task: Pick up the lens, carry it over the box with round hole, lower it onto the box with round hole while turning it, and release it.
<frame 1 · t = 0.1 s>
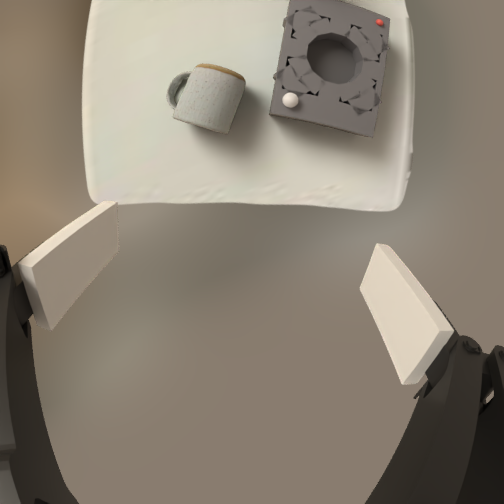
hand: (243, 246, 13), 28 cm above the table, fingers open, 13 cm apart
ceramic mug: (206, 99, 35), on the table
box with round hole: (325, 66, 31), on the table
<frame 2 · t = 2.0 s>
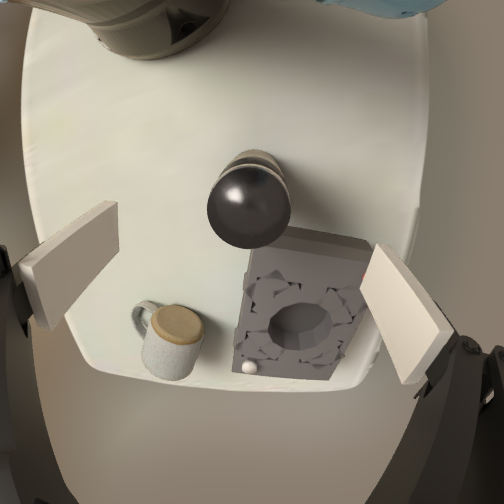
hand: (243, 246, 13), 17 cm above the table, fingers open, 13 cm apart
lens: (254, 174, 28), on the table
ceramic mug: (170, 321, 38), on the table
box with round hole: (295, 296, 34), on the table
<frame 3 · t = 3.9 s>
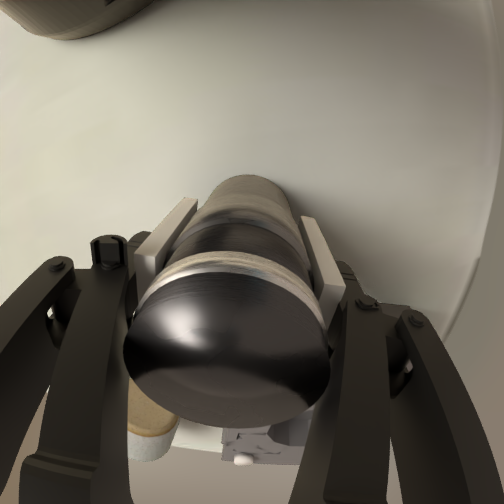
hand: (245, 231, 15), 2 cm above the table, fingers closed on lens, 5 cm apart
lens: (247, 216, 17), on the table, touching gripper
ceramic mug: (139, 389, 27), on the table
box with round hole: (306, 375, 24), on the table
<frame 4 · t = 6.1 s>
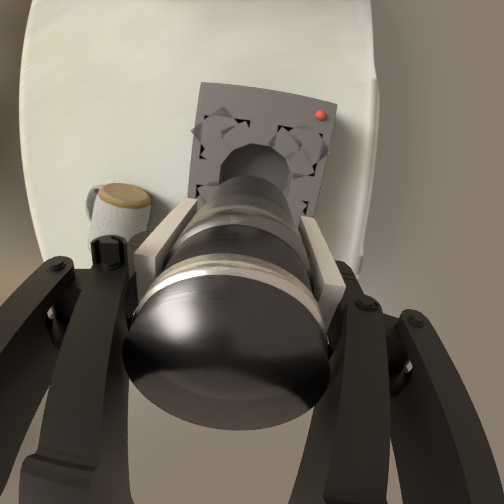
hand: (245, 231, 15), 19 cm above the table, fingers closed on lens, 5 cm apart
lens: (247, 217, 17), point 17 cm above the table, touching gripper
ceramic mug: (123, 209, 35), on the table
box with round hole: (256, 168, 32), on the table
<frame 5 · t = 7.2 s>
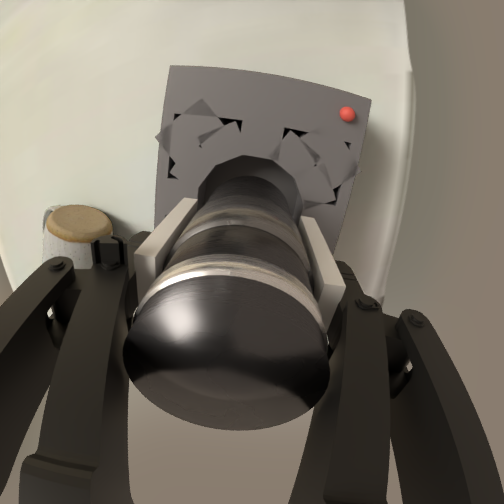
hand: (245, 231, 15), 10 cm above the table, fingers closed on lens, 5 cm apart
lens: (247, 217, 17), point 8 cm above the table, touching gripper
ceramic mug: (85, 235, 27), on the table
box with round hole: (252, 187, 24), on the table
when the fingers open (7 cm above the table, at t = 8.2 s): lens drops 2 cm, resting on box with round hole.
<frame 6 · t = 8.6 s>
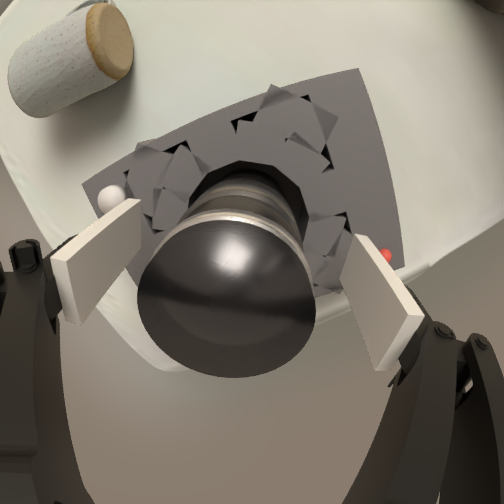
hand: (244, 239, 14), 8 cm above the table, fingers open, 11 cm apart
lens: (246, 206, 19), point 3 cm above the table, touching box with round hole
ceramic mug: (94, 51, 16), on the table
box with round hole: (250, 195, 21), on the table
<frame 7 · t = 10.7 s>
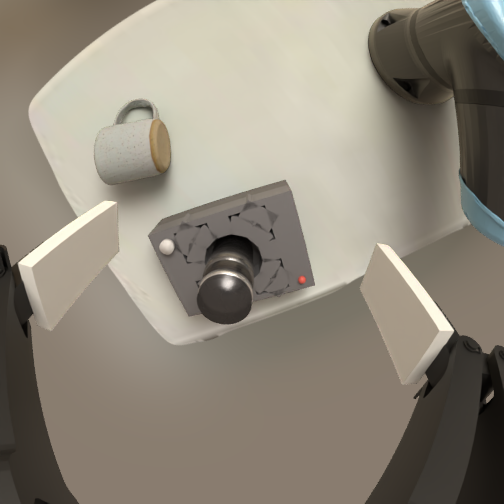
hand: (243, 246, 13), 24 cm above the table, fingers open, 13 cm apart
lens: (233, 250, 37), point 3 cm above the table, touching box with round hole
ceramic mug: (142, 138, 33), on the table
box with round hole: (236, 241, 40), on the table
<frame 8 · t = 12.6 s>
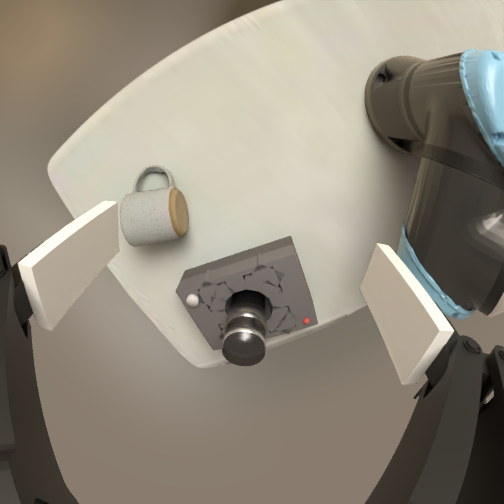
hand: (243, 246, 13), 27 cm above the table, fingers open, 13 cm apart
lens: (248, 297, 43), point 3 cm above the table, touching box with round hole
ceramic mug: (160, 199, 40), on the table
box with round hole: (250, 287, 46), on the table
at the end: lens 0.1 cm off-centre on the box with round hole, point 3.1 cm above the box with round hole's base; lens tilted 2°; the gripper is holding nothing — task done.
